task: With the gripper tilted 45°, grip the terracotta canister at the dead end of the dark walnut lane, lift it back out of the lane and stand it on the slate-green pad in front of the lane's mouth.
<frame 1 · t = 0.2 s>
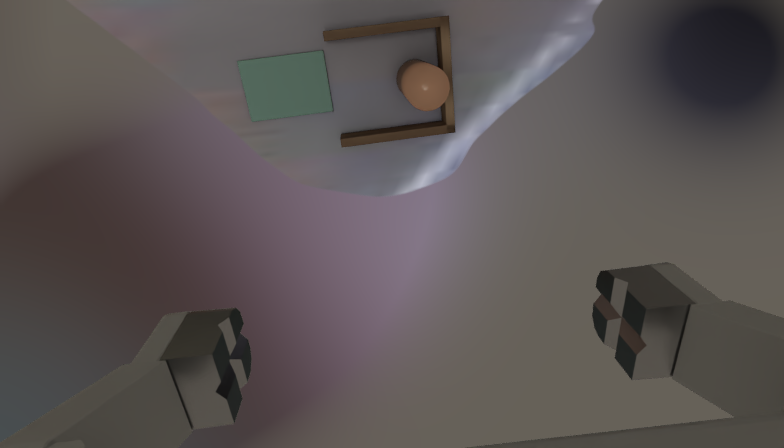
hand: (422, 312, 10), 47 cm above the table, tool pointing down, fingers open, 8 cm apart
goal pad: (287, 86, 53), on the table
walnut lane: (390, 82, 53), on the table
terracotta canister: (414, 78, 53), resting in walnut lane
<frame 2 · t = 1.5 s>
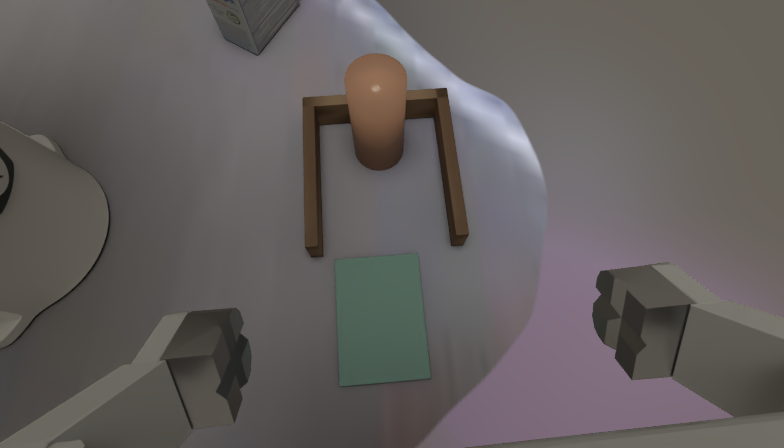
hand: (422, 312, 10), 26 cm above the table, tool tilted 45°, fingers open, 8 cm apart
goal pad: (380, 317, 35), on the table
walnut lane: (381, 177, 40), on the table
terracotta canister: (379, 148, 41), resting in walnut lane
medicine box: (264, 24, 46), on the table
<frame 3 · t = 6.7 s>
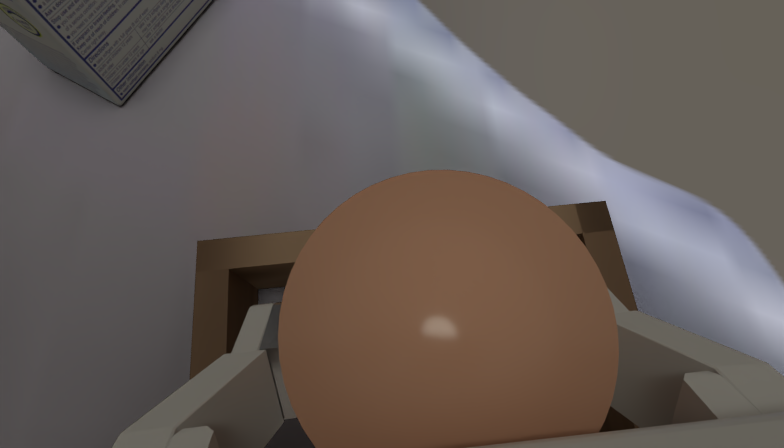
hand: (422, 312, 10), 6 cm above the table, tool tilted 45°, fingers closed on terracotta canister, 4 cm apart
terracotta canister: (415, 357, 15), resting in walnut lane, touching gripper
medicine box: (145, 33, 21), on the table
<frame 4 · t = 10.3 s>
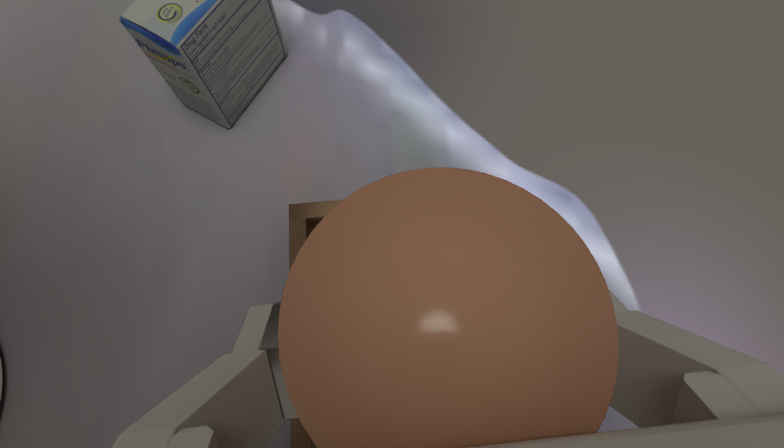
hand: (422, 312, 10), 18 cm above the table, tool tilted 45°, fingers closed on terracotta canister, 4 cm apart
walnut lane: (405, 317, 27), on the table
terracotta canister: (415, 356, 15), point 12 cm above the table, touching gripper
medicine box: (238, 82, 34), on the table
when the fingers open (7 cm above the table, at t = 14.0 s): terracotta canister stays where it is, resting on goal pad.
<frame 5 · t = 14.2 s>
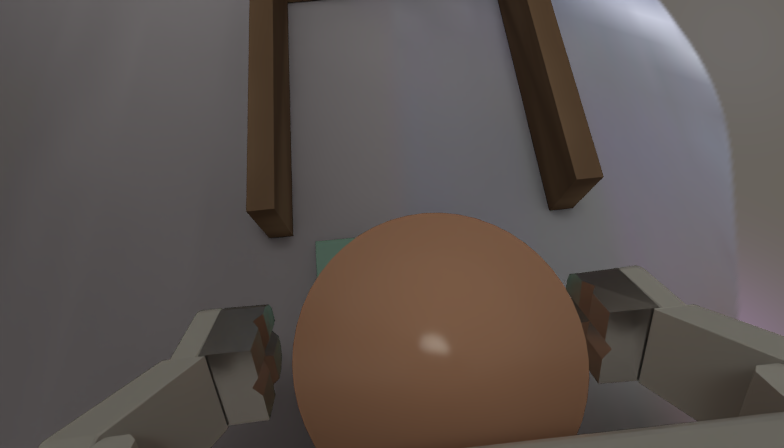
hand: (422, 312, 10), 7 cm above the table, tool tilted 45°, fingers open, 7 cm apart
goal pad: (414, 359, 17), on the table
walnut lane: (404, 87, 21), on the table
terracotta canister: (412, 358, 16), point 1 cm above the table, touching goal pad
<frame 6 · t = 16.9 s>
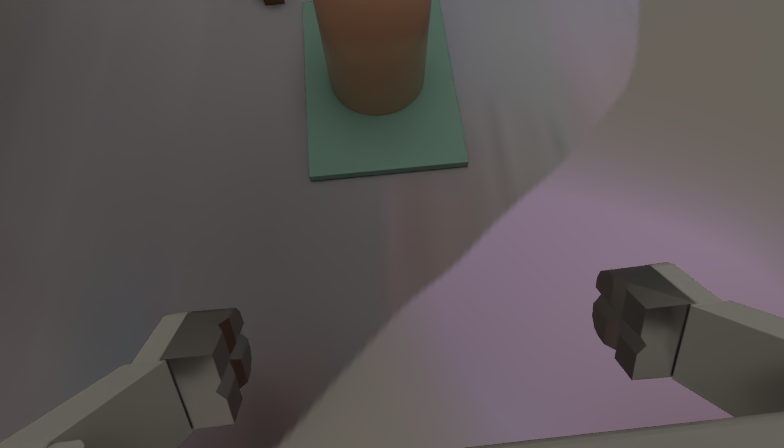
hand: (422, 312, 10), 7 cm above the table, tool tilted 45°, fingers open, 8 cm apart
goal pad: (379, 81, 21), on the table
terracotta canister: (377, 75, 21), resting on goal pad
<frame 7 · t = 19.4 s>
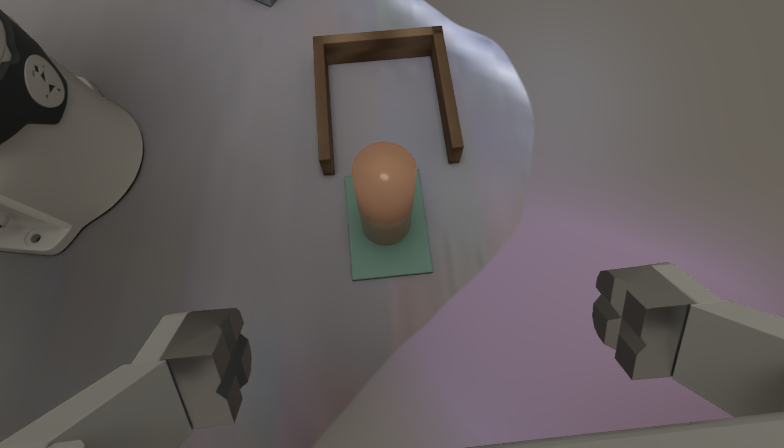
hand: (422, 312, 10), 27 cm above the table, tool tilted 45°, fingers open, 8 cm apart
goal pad: (387, 223, 40), on the table
walnut lane: (384, 107, 44), on the table
terracotta canister: (386, 221, 40), resting on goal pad
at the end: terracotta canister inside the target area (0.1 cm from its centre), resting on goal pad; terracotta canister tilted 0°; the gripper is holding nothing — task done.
